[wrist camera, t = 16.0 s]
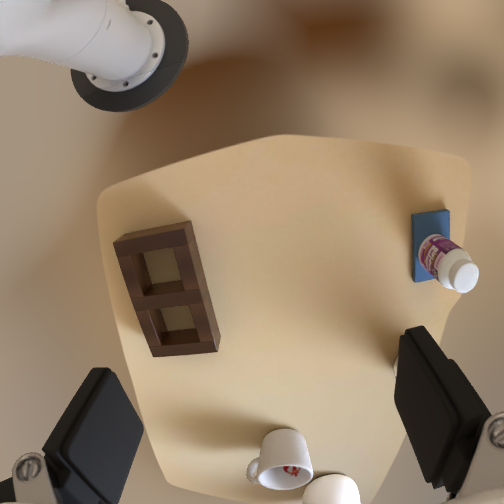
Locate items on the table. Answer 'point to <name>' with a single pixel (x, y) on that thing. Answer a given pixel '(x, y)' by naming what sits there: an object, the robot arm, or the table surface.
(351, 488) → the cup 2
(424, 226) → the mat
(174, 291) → the rack
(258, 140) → the table surface
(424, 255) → the pill bottle
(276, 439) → the cup
